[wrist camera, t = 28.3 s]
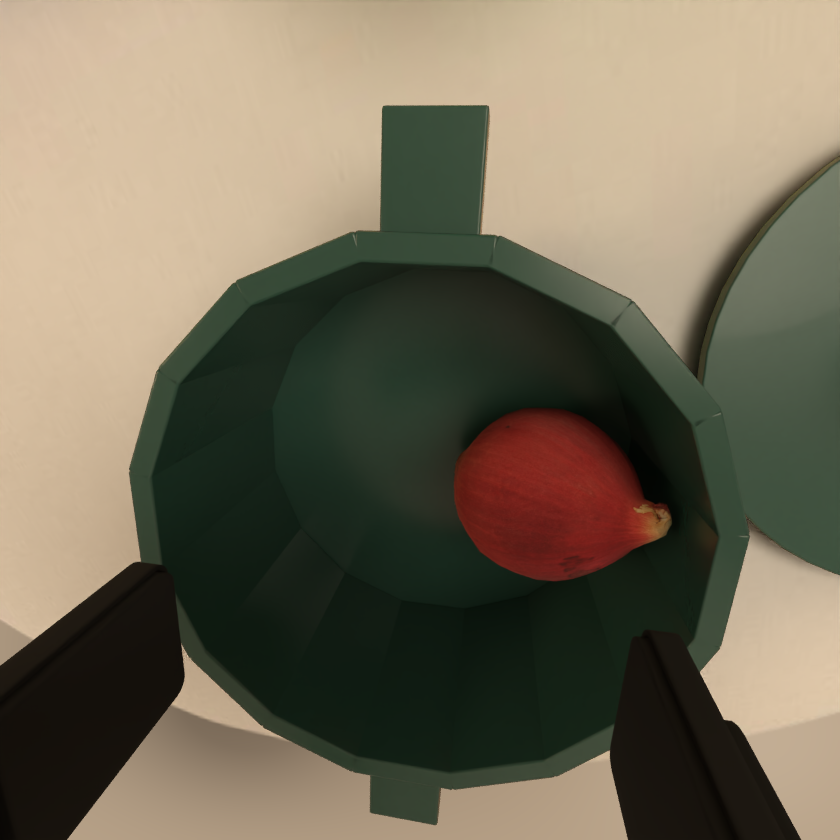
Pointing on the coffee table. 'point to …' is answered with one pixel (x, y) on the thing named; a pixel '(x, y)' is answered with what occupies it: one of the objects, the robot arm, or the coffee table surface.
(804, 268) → the lid
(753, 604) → the coffee table surface
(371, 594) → the pot
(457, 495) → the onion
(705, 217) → the coffee table surface
